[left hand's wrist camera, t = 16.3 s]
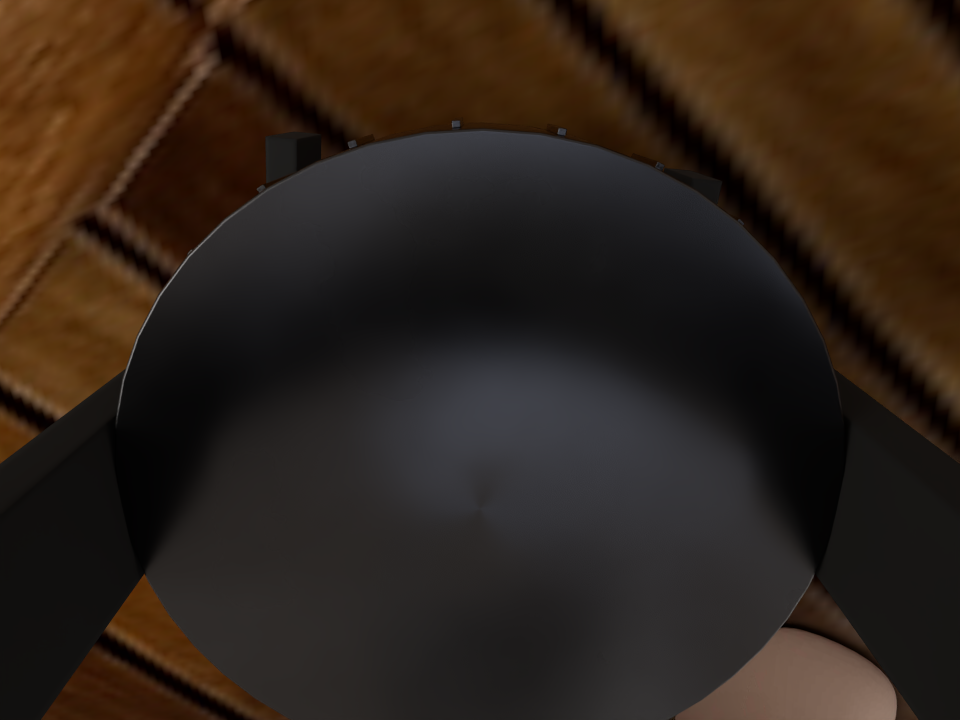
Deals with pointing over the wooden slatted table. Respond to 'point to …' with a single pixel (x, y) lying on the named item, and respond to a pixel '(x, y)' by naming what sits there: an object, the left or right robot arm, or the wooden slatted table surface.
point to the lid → (479, 436)
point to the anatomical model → (801, 685)
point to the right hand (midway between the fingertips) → (495, 154)
